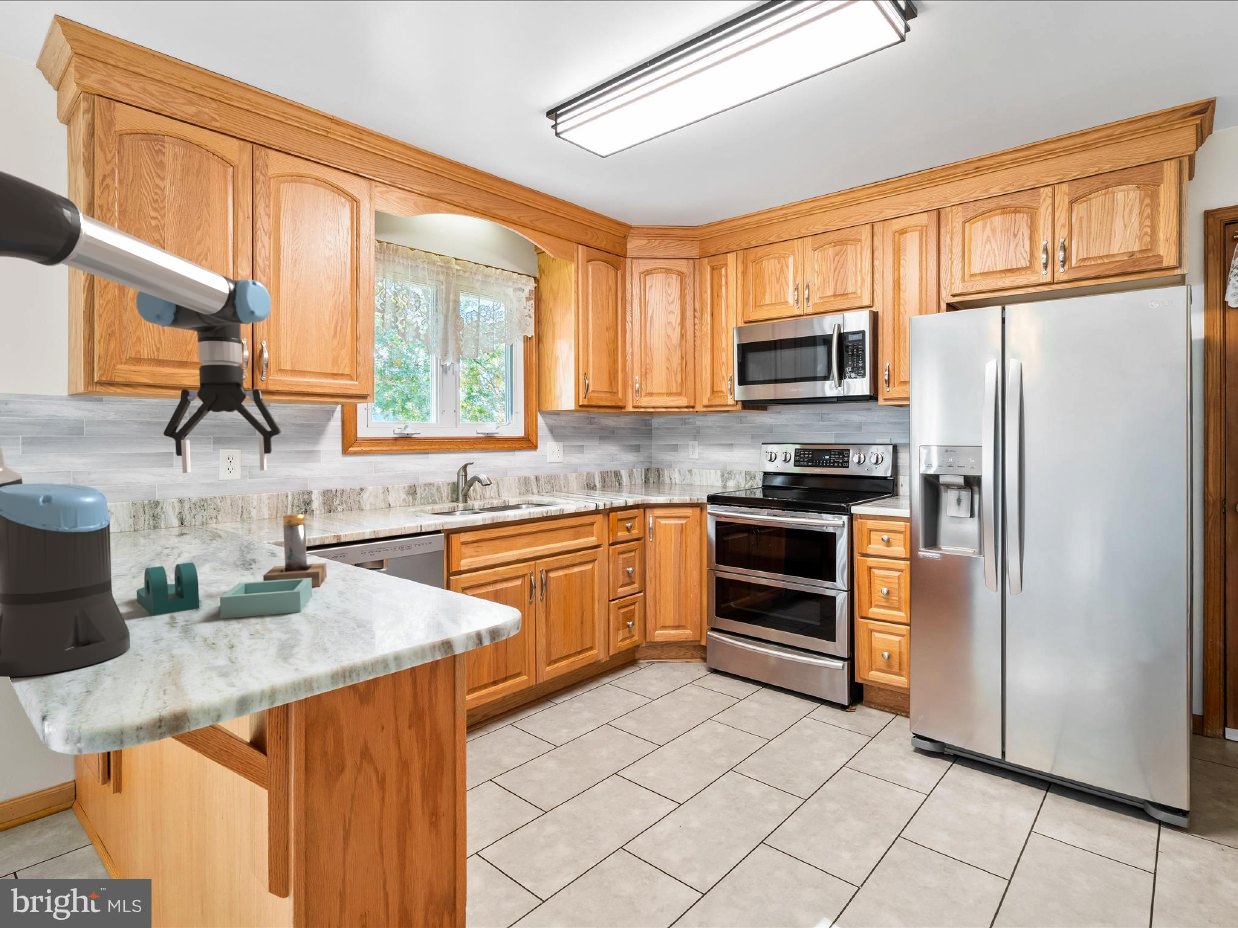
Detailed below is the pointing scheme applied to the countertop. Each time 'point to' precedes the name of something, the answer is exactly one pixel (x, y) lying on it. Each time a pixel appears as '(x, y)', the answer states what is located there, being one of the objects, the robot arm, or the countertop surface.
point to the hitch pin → (295, 542)
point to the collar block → (299, 574)
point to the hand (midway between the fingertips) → (225, 471)
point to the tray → (266, 598)
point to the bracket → (169, 590)
